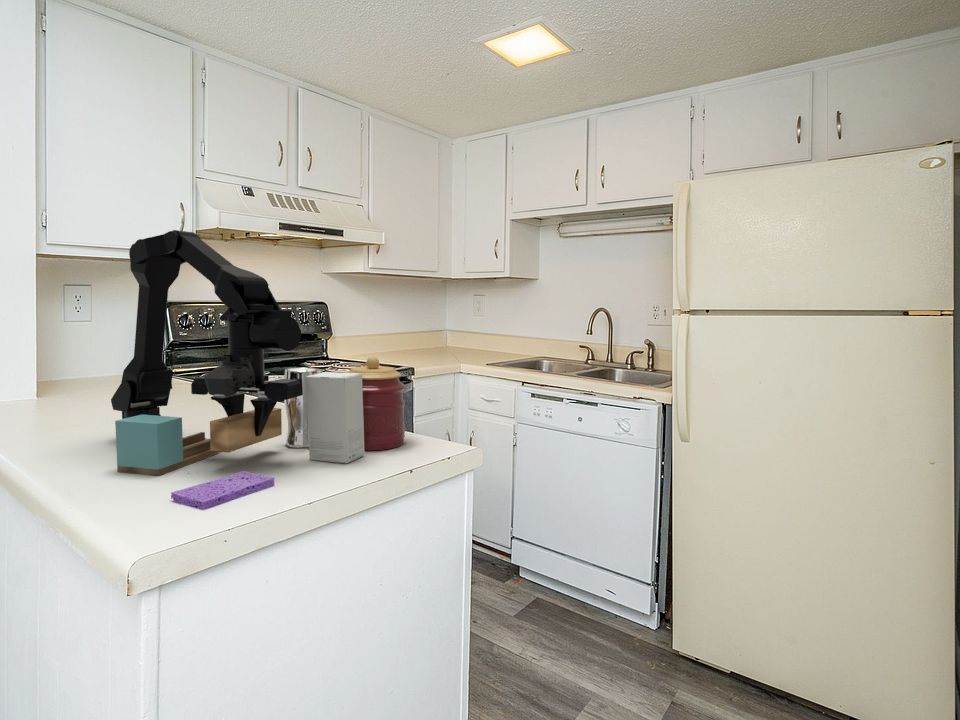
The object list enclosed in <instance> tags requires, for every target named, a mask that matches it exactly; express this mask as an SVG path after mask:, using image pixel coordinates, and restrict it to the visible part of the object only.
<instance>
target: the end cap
mask: <svg viewBox="0 0 960 720" xmlns="http://www.w3.org/2000/svg"><path fill="white" fill-rule="evenodd" d="M114 422H115V423H114V425H115V445H116V464H117V466H126V467H136V468H146V469H156V470H159V469H162V468H165V467H168V466H170V465H173V464H176V463H179V462H181V461H183V438H184V437H183V417H179V416H167V415H166V416H165V415H161V416H156V415H143V414H142V415H138V416H133V417H129V418H125V419H122V418H121V419H117V420H115V421H114Z"/></svg>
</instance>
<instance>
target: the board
mask: <svg viewBox="0 0 960 720" xmlns="http://www.w3.org/2000/svg"><path fill="white" fill-rule="evenodd" d="M217 454H221V452H218V451H211V449H210V438H206V432H204V431H201V432H200V431H199V432H198V433H197V432H196V433H194V434H190V435H188V436H184V437H183V461H181V462H179V463H176V464H173V465H170V466H168V467H165V468H162V469H159V470H156V469H146V468H136V467H126V466H117V472H119V473H126V474H127V473H128V474H129V473H130V474H136V473H137V474H138V475H148V476H155V477H156V476H158V477H160V476H162V475H165V474H167V473H170V472H173V471H175V470H178V469H180V468H184V467H186V466H189V465H191V464H193V463H196V462H199V461H201V460H205V459H207V458H210V457H213V456H215V455H217Z"/></svg>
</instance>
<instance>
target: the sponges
mask: <svg viewBox="0 0 960 720" xmlns="http://www.w3.org/2000/svg"><path fill="white" fill-rule="evenodd" d="M274 486H275V477H274V476H271V475H270V476H269V475H265V474H264V475H261V474H259V473H252V472H251V471H245V470H241V471H238V472H236V473H232V474H230V475H228V476H225V477H224V476H223V477H220V478H216V479H214V480H209V481H206V482H202V483H199V484H196V485H192V486H188V487H186V488H182V489H179V490H175V491H171V493H170V494H171V496H170V500H171V499H172V500H173V501H172V502H173V503H176V504H179V505H183V506H188V507H192V508H195V509H199V510H202V511H205V510H208V509H211V508H213V507H216V506H219V505H222V504H224V503H227V502H231V501H234V500H237V499H240V498H242V497H243V498H244V497H245V496H249V495H251V494H255V493H257V492H261V491H263V490H266V489H270V488H272V487H274Z"/></svg>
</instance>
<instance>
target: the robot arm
mask: <svg viewBox="0 0 960 720" xmlns="http://www.w3.org/2000/svg"><path fill="white" fill-rule="evenodd" d="M128 255H129V260H130V261H129V263H130V267H129V268H130V271H131V273H132V275H133V277H134V279H135V281H137V283H138V296H137V297H138V298H137V311H136V312H137V313H136V323H135V325H136V326H135V336H134V337H135V338H134V349H133V350H134V352H133V358H132V359H131V360H130V362H128V363H127V366H125V368H124V369H123V371H122V375H121V376H122V377H121V381H120V384H119V386H118V387H117V389H116V391H115V392H114V394H113V395H112V397H111V399H110V403H111V407H112V410H113V411H119V412H121V419H125V418H129V417H133V416H138V415H142V414H143V415H156V416H162V415H161V411H160V409H161V407H167V406H168V403H169V398H170V395H171V394H170V393H171V390H172V389H173V376H174V373H173V370H172V369H171V368H170V369H169V368H168V366H167V365H166V363H165V362H164V357H163V356H164V348H165V347H164V346H165V345H164V344H165V334H166V324H167V322H166V319H167V310H168V300H169V299H168V298H169V297H168V296H169V289H170V287H171V286H172V285H173V284H174V282H175V281H176V279H178V277H179V275H180V270H181V267H182V265H183V264H186V263H187V264H188V265H190V266H191V267H192V268H193V269H195V270H196V271H197V272H198V273H199V274H201V275H202V276H203V277H204V278H205V279H207V280H208V281H209V282H210V283H211V284H212V285H213V287H214V288H213V289H214V294H215V295H216V297H217V298H218V299H219V300H220V301H221V303H223V305H224V306H225V307H227V309H226V311H225V312H223V313H222V314H221V315H220V316H219V320H220V321H221V322H222V321H223V322H227V331H228V332H227V335H228V339H227V340H228V353H223V357H222V364H221V365H219V366H217V367H215V368H214V369H212V370H211V371H209V372H208V373H207V374H205V375H204V376H198V377H194V379H193V381H192V382H191V384H190V386H191V387H190V389H191V391H190V393H191V395H199V396H201V395H203V396H205V395H208V394H209V395H210V400H212V401H216V402H217V403H218V404H219V405H221V406H222V408H223V410H224V411H225V413H226V417H228V416H232V415H236V414H240V413H244V411H245V410H244V409H245V398H246V397H245V395H246V393H253V394H254V393H256V394H257V397H256V398H253V399H250V400H249V401H250V403H251V405H252V406H253V408H254V409H253V410H255V435H256V436H260V435H261V434H262V432H263V429H264V427H265V425H266V423H267V420H268V418H269V416H270V414H271V412H272V410H273V408H276V407H275V406H276V404H277V403H278V401H284V400H288V399H291V398H294V397H298V396H301V395H303V386H302V384H301V383H300V381H299V380H292V379H284V378H281V379H279V378H278V379H275V380H271V381H269V378H270V377H269V374H265V359H269V352H268V351H267V352H265V350H270V351H283V352H286V351H287V352H289V351H293V350H295V349H296V348H297V347H298V345H299V344H300V342H301V338H302V329H301V327H300V325H299V322H297V321H296V319H295V318H293V317H292V315H293V314H292V310H290V309H281V307H280V305H279V303H278V302H277V300H276V298H275V297H274V295H273V293H272V291H271V289H270V288H269V283H268V281H267V280H266V278H264V277H262V276H260V275H259V274H256V273H255V272H252V271H249V270H247V269H244V268H243V269H242V268H240V267H237V266H236V265H234V264H232V263H231V262H230V261H229V260H228V259H226V258H225V257H224V256H222V255H221V254H220V253H218V251H216V250H215V249H213V247H211V246H210V245H208V244H207V243H206V242H205V241H203V239H201V237H200V235H198V234H197V233H195V232H193V231H188V230H187V231H183V230H178V229H173V230H169V231H167V232H165V233H163V234H159V235H155V236H150V237H146V238H143V239H142V238H139V239H138V240H136V241H135V242H134V243H132V244H131V246H130V248H129V253H128Z"/></svg>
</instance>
